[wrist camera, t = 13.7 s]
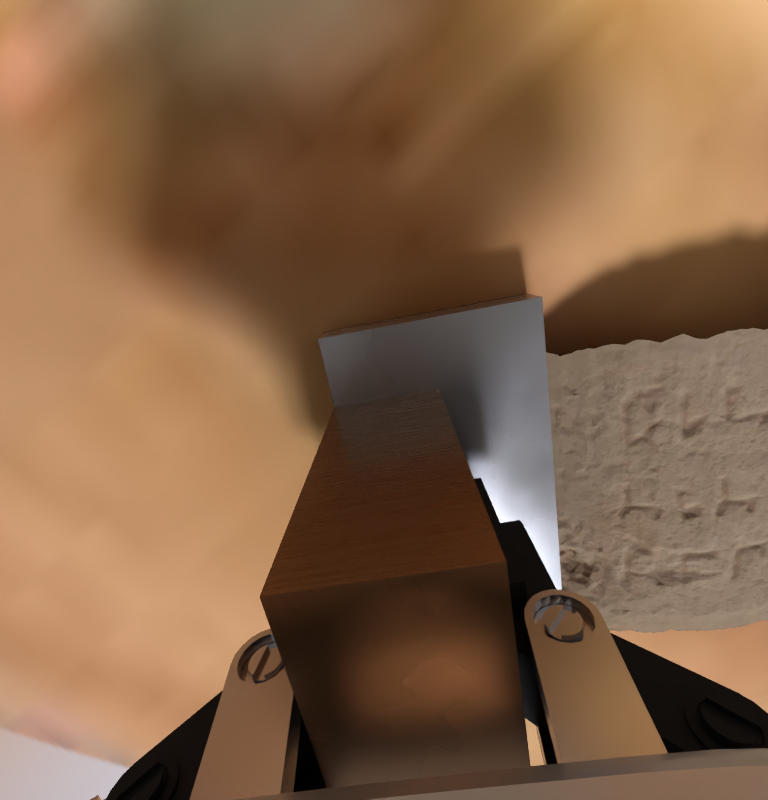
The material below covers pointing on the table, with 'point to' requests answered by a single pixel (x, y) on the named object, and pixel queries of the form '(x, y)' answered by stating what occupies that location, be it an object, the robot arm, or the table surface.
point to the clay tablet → (664, 479)
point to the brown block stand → (417, 544)
